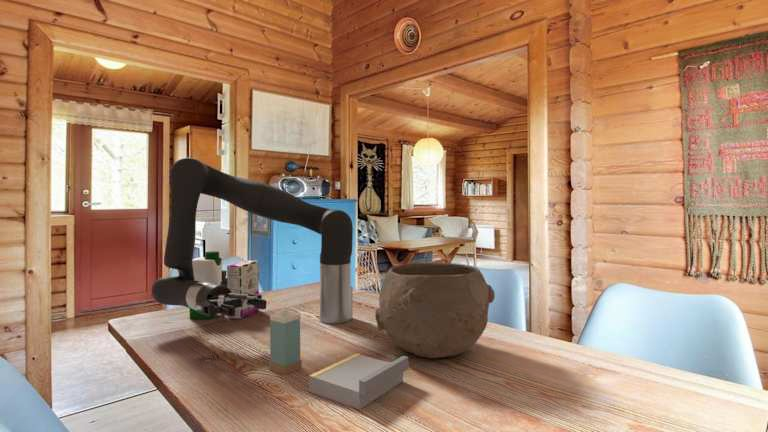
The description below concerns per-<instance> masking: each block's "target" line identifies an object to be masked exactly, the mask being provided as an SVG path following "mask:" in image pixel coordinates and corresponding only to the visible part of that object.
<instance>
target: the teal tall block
mask: <svg viewBox="0 0 768 432" xmlns="http://www.w3.org/2000/svg"><path fill="white" fill-rule="evenodd" d="M269 325H270V326H269V329H270V330H269V331H270V332H269V333H270V334H269V335H270V337H269V338H270V339H269V340H270V341H269V344H270V346H269V347H270V348H269V349H270V350H269V351H270V352H269V353H270V358H269V359H270V360H269V362H268V370H269V371H273V372H275V373H279V374H282V375H287V374H290V373H292V372H294V371H297V370H300V369H301V368H302V367H303V364H302V362H303V359H301V313H299V312H294V311H289V310H283V311H281V312H277V313H273V314H269Z"/></svg>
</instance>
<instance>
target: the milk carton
mask: <svg viewBox="0 0 768 432" xmlns="http://www.w3.org/2000/svg"><path fill="white" fill-rule="evenodd" d="M223 260H224V257H222V256H221V257H220V252H219V251H217V250H216V251H214V250H213V251H211V250H210V251H205V253H204V257H202V256H199V257H196V258H193V260H192V264H193V273H194V279H195V281H200V282H210V283H214V284H219V285H222V270H223V269H222V268H223ZM188 309H189V319H190V320H192V319H193V320H194V319H195V320H196V319H197V320H199V319H200V320H203V319H204V320H213V319H214V318H216V317H217V316H212V317H210V316H206V315H203V314H201V313H198V312H197V311H196V310H194V309H192V308H188Z"/></svg>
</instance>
